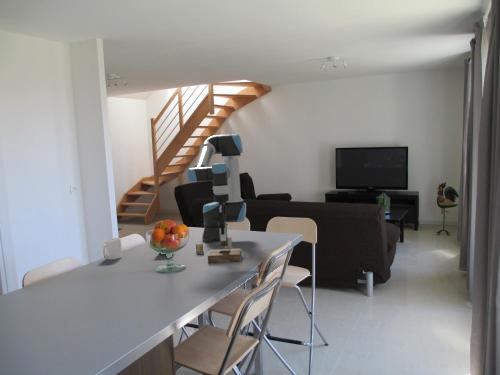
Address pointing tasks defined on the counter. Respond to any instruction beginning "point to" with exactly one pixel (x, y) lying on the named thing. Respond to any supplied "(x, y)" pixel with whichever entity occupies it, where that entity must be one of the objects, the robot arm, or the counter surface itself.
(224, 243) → the long pin
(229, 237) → the medium pin
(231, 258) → the hole board
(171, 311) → the counter surface
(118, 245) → the cup
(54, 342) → the counter surface
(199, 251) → the short pin
